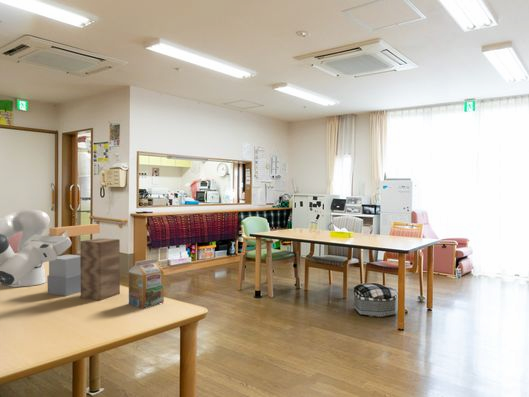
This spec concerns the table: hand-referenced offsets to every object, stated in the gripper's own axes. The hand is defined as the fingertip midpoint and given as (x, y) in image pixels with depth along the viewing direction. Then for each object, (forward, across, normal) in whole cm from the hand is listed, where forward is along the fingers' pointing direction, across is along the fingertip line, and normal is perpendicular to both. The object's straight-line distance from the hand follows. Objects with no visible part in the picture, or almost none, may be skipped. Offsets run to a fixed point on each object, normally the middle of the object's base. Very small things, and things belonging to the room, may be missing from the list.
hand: (61, 232), depth 171 cm
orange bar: (+6, 0, -6) cm, 8 cm away
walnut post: (+1, +4, -36) cm, 37 cm away
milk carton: (-2, +32, -35) cm, 47 cm away
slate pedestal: (0, -16, -36) cm, 40 cm away
